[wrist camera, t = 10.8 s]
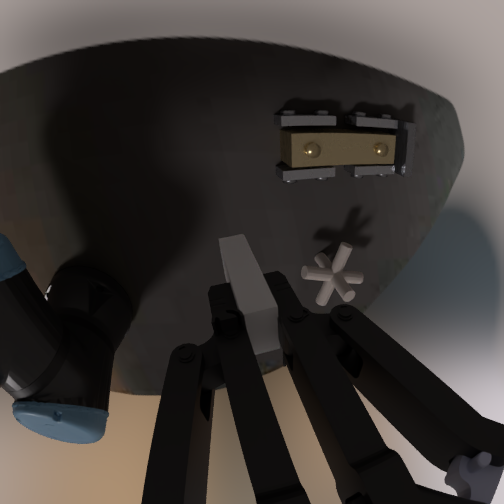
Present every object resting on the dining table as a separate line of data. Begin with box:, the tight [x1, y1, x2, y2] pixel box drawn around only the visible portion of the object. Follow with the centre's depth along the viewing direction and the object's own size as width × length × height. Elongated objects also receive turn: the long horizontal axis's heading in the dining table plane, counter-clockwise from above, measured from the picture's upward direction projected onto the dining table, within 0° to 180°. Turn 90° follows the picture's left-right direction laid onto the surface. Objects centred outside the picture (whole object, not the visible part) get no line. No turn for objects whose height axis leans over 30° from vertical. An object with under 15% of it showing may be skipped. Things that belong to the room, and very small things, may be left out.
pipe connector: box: [301, 242, 363, 306], centre depth 40 cm, size 10×10×10 cm
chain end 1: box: [344, 111, 416, 178], centre depth 34 cm, size 9×9×4 cm
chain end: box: [274, 110, 336, 184], centre depth 33 cm, size 7×9×3 cm
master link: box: [280, 129, 396, 168], centre depth 33 cm, size 15×4×5 cm, turn 94°
